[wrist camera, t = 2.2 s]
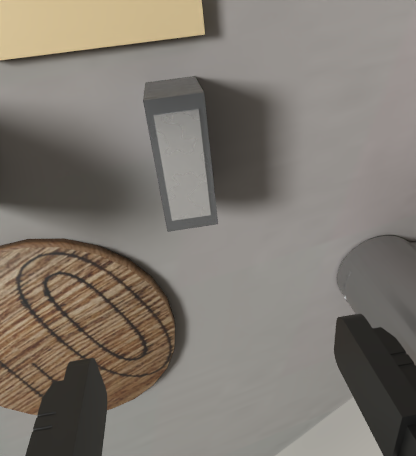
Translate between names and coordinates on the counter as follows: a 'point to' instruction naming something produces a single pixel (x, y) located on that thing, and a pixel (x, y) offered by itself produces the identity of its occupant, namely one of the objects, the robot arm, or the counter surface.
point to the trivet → (78, 320)
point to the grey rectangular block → (181, 151)
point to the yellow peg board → (92, 24)
